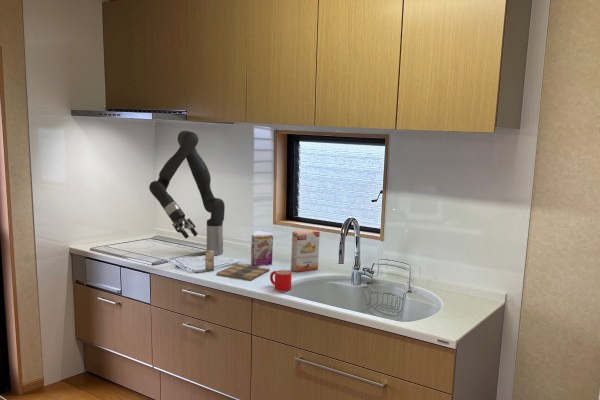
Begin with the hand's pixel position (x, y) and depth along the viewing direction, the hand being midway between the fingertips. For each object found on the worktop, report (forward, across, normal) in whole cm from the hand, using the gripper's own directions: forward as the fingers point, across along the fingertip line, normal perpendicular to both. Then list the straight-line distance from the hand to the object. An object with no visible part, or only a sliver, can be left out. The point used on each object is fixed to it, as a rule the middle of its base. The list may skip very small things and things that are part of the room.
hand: (192, 236), depth 281 cm
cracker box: (+49, +24, -29) cm, 62 cm away
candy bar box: (+32, +23, -11) cm, 41 cm away
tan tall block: (+20, 0, +3) cm, 20 cm away
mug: (+51, -11, -29) cm, 59 cm away
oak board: (+32, +3, -10) cm, 34 cm away
